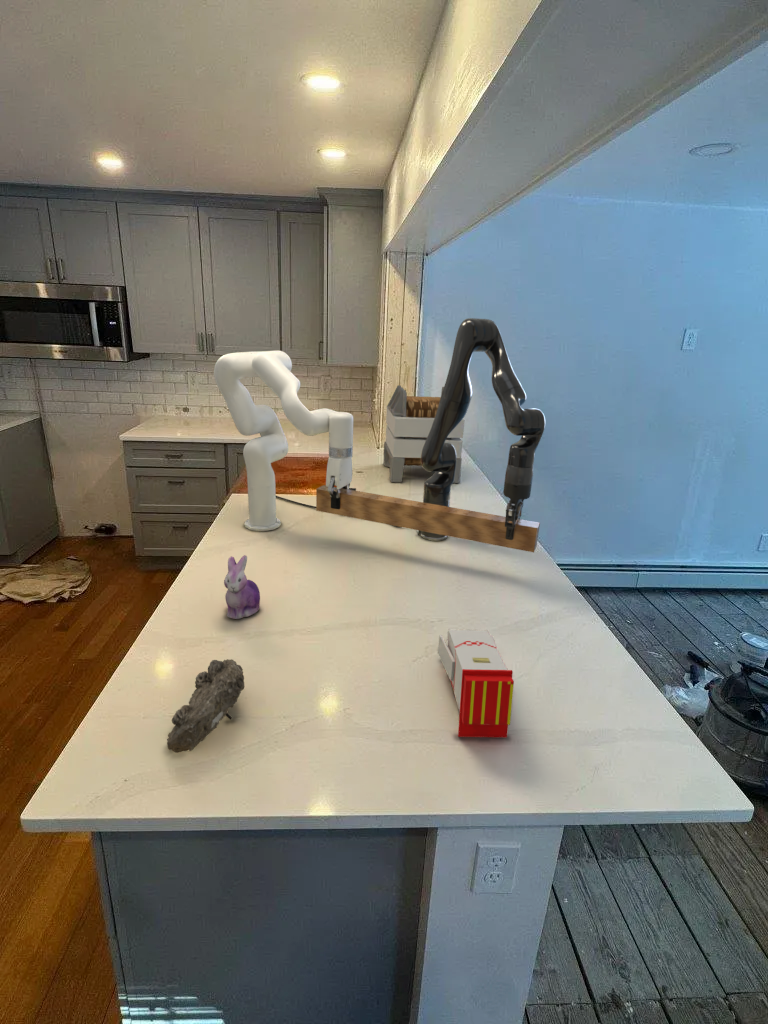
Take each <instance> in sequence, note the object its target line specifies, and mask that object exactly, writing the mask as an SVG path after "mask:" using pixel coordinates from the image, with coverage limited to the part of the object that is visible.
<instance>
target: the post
mask: <svg viewBox="0 0 768 1024" xmlns="http://www.w3.org/2000/svg"><path fill="white" fill-rule="evenodd" d="M315 489H316V490H315V492H316V493H315V495H316V496H315V499H316V501H315V505H316V506H315V507H316V508H315V511H317V512H322V513H327V514H331V515H337V516H342V517H347V518H352V519H353V518H354V519H358V520H363V521H369V522H373V523H377V524H378V523H379V524H383V525H389V526H392V525H394V526H393V527H395V526H399V527H401V528H405V529H410V530H413V531H414V530H415V531H418V530H420V531H425V532H430V533H435V534H440V535H445V536H447V537H450V538H457V539H460V540H467V541H472V542H477V543H482V544H487V545H492V546H498V547H504V548H509V549H513V550H518V551H522V552H523V551H524V552H527V553H528V552H529V553H535V551H536V549H537V546H538V540H539V535H540V525H541V522H540V521H539V522H538V521H534V520H533V521H532V520H526V519H521V518H520V519H518V520H517V521H516V527H515V530H514V538H513V540H508V539H506V538H505V536H506V529H507V527H505V519H506V516H504V515H497V514H492V513H486V512H480V511H474V510H470V509H469V510H468V509H463V508H458V507H453V506H449V507H447V506H441V505H435V504H429V503H424V502H423V501H417V500H411V499H405V498H401V497H394V496H389V495H383V494H377V493H371V492H366V491H360V490H356V491H355V490H349V489H343V488H341V489H340V495H339V497H340V509H339V510H338V509H333V508H331V497H330V493H329V492H328V491H327V490H328V487H326V484H323V485H321V486H319V487H317V488H315ZM334 491H336V493H337V490H335V489H334ZM509 523H511V524H512V521H509ZM399 527H398V528H399Z"/></svg>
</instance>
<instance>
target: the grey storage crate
mask: <svg viewBox="0 0 768 1024" xmlns="http://www.w3.org/2000/svg"><path fill="white" fill-rule="evenodd" d="M443 389H444V386H442V387H441V392H440V393H441V394H440V396H415V395H414V396H413V395H412V396H411V395H407V394H408V393H407V390H406V389H404V388H403V387H402V385H399V384H398V385H397V386H396V388H395V390H394V392H393V394H392V395H391V398H390V400H389V402H388V404H387V405H386V413H385V414H386V415H385V423H386V428H385V438H384V442H383V466H384V467H388V468H389V475H388V476H389V477H388V478H389V480H390V482H391V483H402V482H403V475H404V469H405V466H406V467H407V466H411V467H412V466H413V467H415V466H416V467H417V466H418V467H422V465H421V452H422V449H423V446H424V444H425V441H426V439H427V437H428V434H429V432H430V430H431V427H432V424H433V421H434V418H435V415H436V412H437V409H438V405H439V401H440V398H441V395H442V391H443ZM464 429H465V419H464V418H463V419H462V420H461V422H460V423H459V424H458V425H457V426H456V427H455V428H454V429H453V430H452V432H451V433H450V434H449V435H448V437H447V438H446V440H445V443H450V444H452V445H453V446H454V448H455V450H456V457H457V458H456V468H455V475H454V481H453V484H455V483H456V484H459V483H461V472H462V461H463V460H462V453H463V442H464V441H463V440H462V439H463V438H464V431H465V430H464Z"/></svg>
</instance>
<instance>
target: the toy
mask: <svg viewBox="0 0 768 1024" xmlns="http://www.w3.org/2000/svg"><path fill="white" fill-rule="evenodd" d="M446 640H447V643H446V641H445V639H444V636H443V635H442V634H439V637H438V646H437V656H438V657H439V659H440V661H441V663H442V666H443V668H444V670H445V672H446V674H447V677H448V679H449V681H450V684H451V687H452V690H453V693H454V697H455V701H456V705H457V708H458V711H459V714H458V715H459V716H458V730H457V731H458V732H457V737H458V738H508V731H509V726H510V725H511V717H512V707H513V697H514V696H513V695H514V684H515V680H514V679H513V673H514V671H513V670H512V669H508V667H507V665H506V662H505V661H504V659H503V658H502V655H501V653H500V651H499V649H498V647H497V643H496V639H495V637H494V635H493V634H491V632H490V631H489V629H467V628H466V629H465V628H463V629H461V628H460V629H459V628H448V630H447V639H446Z"/></svg>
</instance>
